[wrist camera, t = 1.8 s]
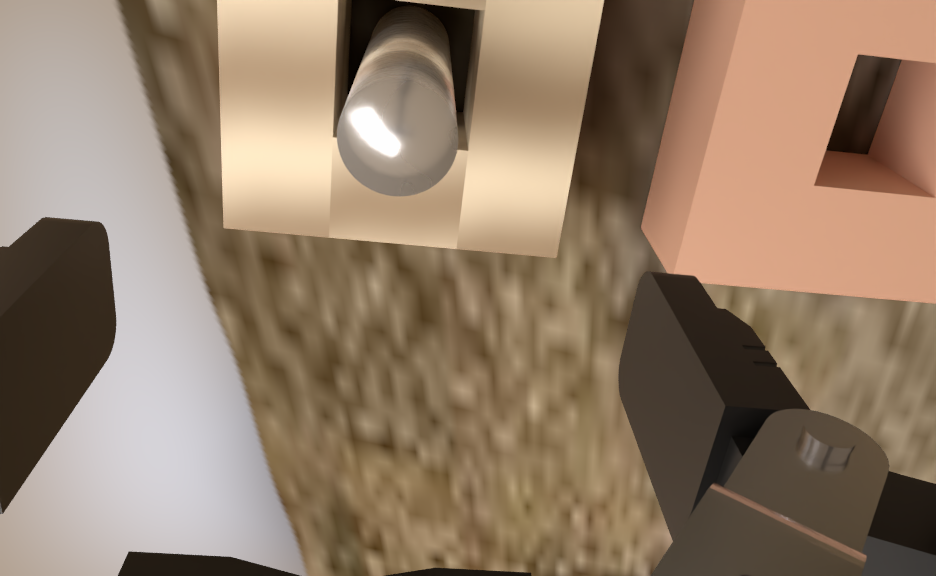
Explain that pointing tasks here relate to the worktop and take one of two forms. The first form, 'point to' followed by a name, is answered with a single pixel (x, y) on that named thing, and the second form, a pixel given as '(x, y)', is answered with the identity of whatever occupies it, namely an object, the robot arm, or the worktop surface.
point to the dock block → (798, 151)
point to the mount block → (479, 125)
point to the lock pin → (401, 107)
